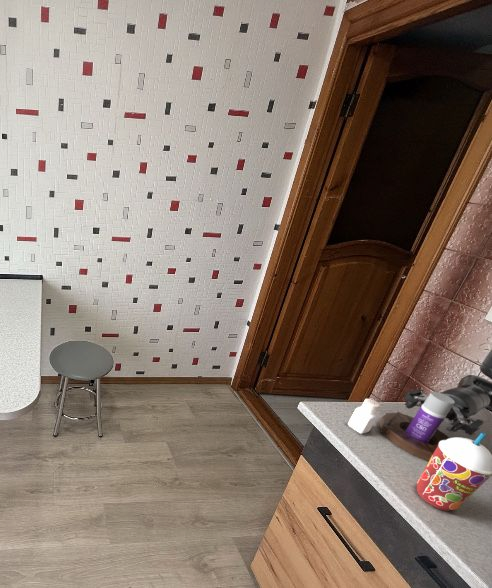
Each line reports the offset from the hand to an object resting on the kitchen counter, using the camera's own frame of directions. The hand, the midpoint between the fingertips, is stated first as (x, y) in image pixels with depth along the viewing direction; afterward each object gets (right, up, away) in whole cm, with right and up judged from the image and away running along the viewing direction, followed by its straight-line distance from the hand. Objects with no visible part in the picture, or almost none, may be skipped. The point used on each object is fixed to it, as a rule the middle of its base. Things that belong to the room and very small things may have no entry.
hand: (428, 416), depth 87 cm
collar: (+1, -8, +4) cm, 9 cm away
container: (+1, -8, +4) cm, 9 cm away
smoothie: (-12, -14, -12) cm, 22 cm away
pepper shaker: (-13, -6, +7) cm, 16 cm away
